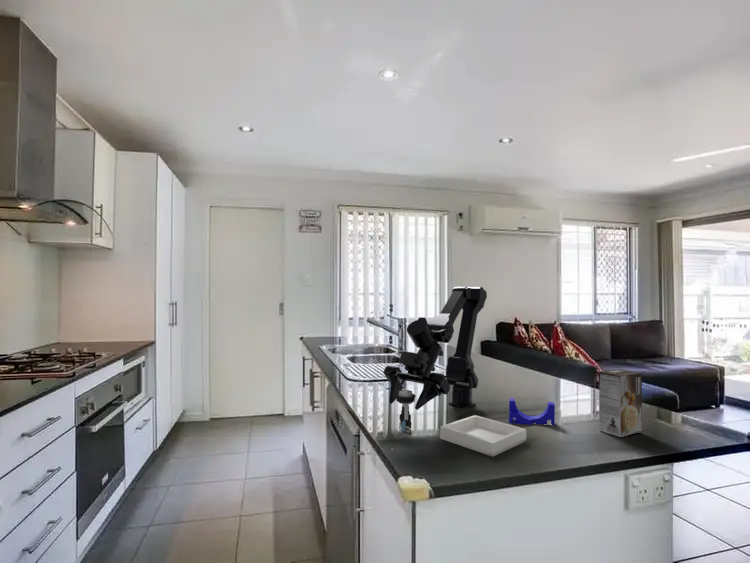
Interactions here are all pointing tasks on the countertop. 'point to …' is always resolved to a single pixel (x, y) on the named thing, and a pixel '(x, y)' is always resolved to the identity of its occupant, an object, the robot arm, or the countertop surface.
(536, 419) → the blue u-shaped cradle
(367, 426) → the countertop surface
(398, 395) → the push button
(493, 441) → the tray
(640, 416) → the coffee box
